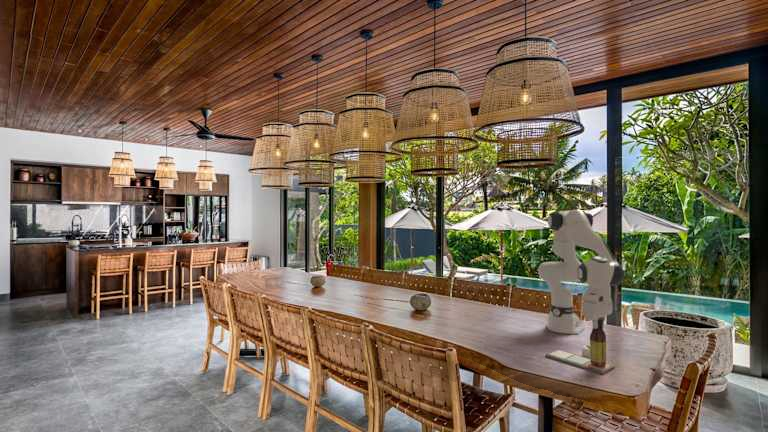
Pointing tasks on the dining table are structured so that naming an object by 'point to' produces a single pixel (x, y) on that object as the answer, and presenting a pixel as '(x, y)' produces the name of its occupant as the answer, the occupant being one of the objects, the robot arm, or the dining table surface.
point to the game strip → (579, 361)
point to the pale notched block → (586, 351)
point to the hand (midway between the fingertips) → (598, 327)
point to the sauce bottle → (598, 345)
